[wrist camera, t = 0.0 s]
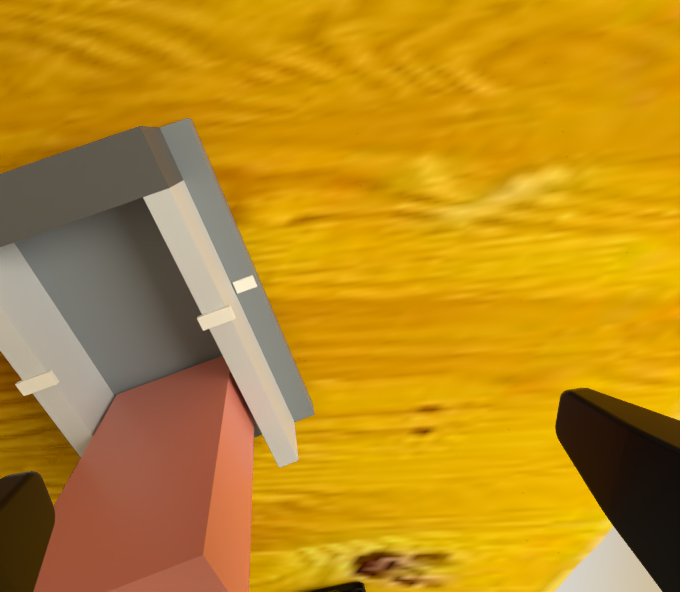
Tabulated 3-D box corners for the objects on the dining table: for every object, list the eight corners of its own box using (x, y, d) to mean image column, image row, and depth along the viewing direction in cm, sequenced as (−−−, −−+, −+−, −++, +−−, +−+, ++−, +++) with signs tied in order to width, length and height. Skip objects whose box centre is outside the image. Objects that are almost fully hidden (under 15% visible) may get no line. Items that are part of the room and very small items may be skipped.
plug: (255, 398, 22) (248, 621, 12) (146, 439, 22) (44, 701, 12) (232, 352, 21) (202, 554, 11) (116, 394, 21) (-24, 642, 11)
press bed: (312, 403, 24) (321, 454, 20) (131, 472, 24) (105, 537, 20) (191, 118, 18) (171, 114, 14) (-57, 204, 18) (-147, 223, 14)
